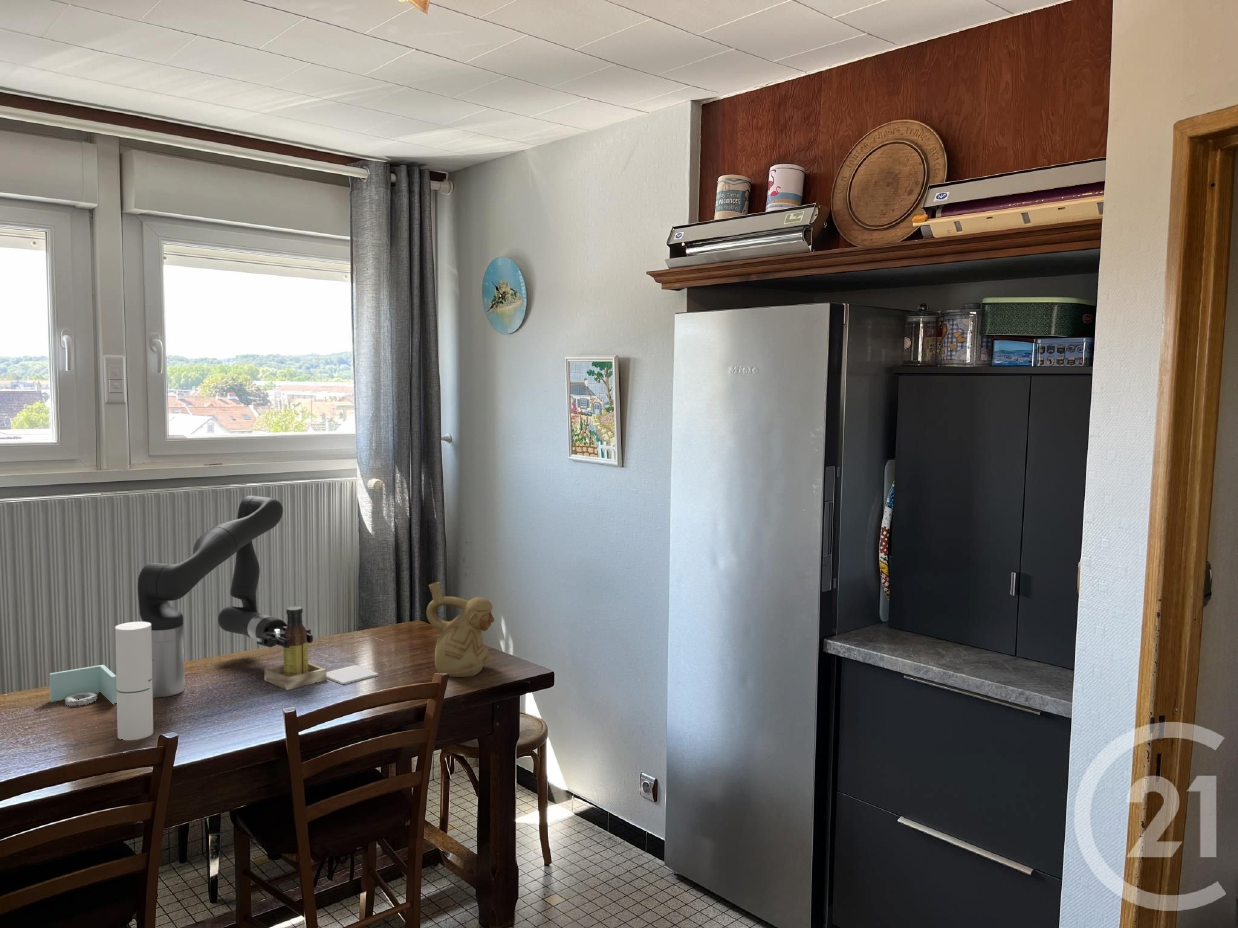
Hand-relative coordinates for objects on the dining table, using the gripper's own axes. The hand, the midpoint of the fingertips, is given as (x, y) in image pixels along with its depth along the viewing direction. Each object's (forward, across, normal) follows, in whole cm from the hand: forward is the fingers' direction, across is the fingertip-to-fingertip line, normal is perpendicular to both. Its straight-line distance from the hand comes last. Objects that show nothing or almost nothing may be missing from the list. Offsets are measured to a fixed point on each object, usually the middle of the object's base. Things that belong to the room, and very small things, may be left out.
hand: (299, 641), depth 247 cm
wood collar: (-2, 0, +11) cm, 11 cm away
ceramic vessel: (+22, +36, +11) cm, 44 cm away
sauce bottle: (-2, 0, +11) cm, 11 cm away
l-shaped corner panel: (-24, -45, +12) cm, 52 cm away
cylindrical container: (+7, -45, +11) cm, 47 cm away
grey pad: (+5, +12, +11) cm, 17 cm away
